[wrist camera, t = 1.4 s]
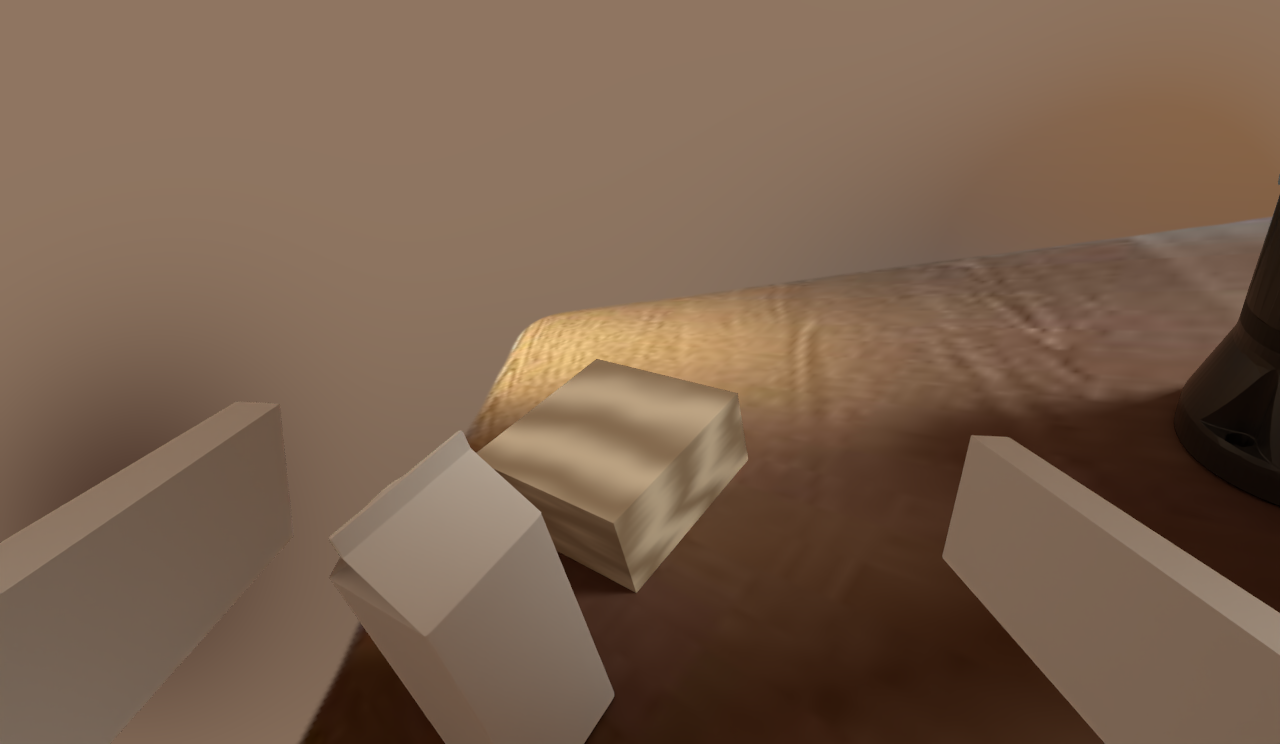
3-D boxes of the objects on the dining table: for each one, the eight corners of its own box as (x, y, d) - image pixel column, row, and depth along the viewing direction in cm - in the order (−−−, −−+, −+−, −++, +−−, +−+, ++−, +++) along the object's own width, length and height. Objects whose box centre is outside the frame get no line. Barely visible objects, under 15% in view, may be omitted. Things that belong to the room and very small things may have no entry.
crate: (614, 419, 61) (596, 358, 58) (748, 462, 52) (737, 393, 48) (499, 522, 52) (470, 457, 49) (637, 595, 43) (613, 523, 39)
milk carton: (616, 696, 37) (515, 445, 27) (538, 817, 32) (382, 568, 22) (530, 648, 41) (414, 415, 31) (449, 750, 36) (283, 514, 26)
